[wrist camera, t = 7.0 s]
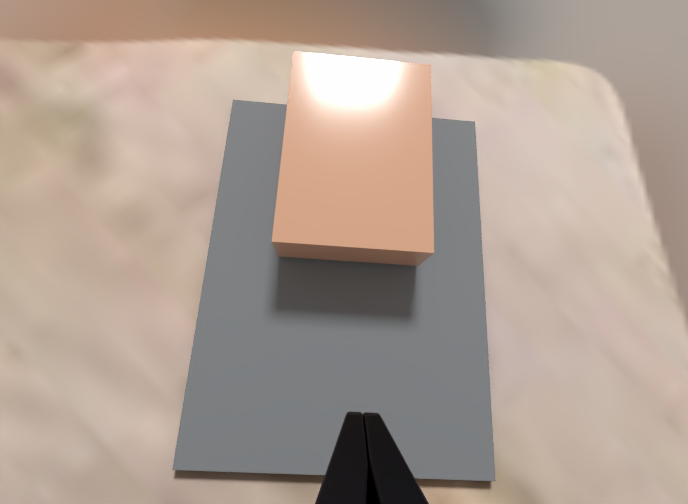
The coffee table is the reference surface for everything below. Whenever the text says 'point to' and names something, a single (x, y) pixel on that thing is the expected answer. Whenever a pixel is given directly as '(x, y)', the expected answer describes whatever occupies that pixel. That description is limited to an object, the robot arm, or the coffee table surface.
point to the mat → (337, 328)
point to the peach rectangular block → (356, 162)
